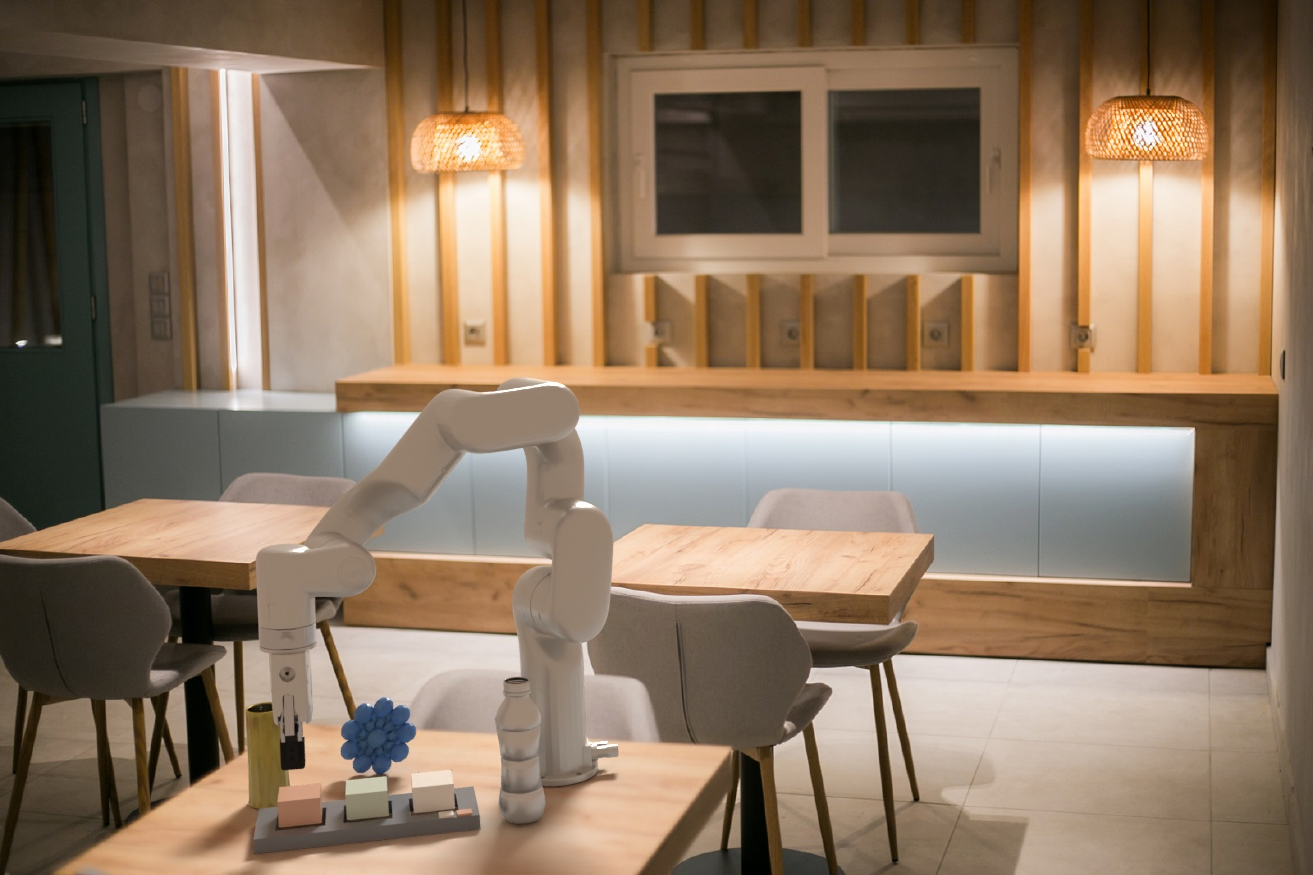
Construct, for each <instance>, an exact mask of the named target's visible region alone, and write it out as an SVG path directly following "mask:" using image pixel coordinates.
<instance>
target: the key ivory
mask: <svg viewBox="0 0 1313 875" xmlns="http://www.w3.org/2000/svg"><path fill="white" fill-rule="evenodd" d="M410 778H411V793H412V799H413V809H414V812H413V814H418V813H419V814H420V813H428V812H437V811H438V812H440V811H445V810H446V811H449V810H454V809H456V807H455V801H454V788H455V787H454V786H455V785H454V784H455V783H454V777H453V773H452V769H445V770H436V771H427V772H426V771H424V772H416V773H410Z"/></svg>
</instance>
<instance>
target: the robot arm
mask: <svg viewBox="0 0 1313 875" xmlns="http://www.w3.org/2000/svg"><path fill="white" fill-rule="evenodd" d="M580 417H581V407H580V403H579V400H578V398H577V396H576V395H575V393H574V392H573V390H571V388H569V387H568V386H566V385H564V384H562V383H560V382H556V381H551V380H543V379H540V378H539V379H538V378H533V377H532V378H531V377H523V376H522V377H514V378H513V377H512V378H509V379H507V380H505V381H503V382H502V383H501V384H500V385H499V386H498V387H497V389H496V391H483V392H482V391H480V392H479V391H475V390H474V391H472V390H469V389H467V390H466V389H460V388H449V389H445V390H442V391H441V392H439V393H438V394H436V395H435V396H434V397H433V398H432V399H431V400H430V401H429V402H428V403H427V404H426V406H425V407H424V408H423V410H421V412H420V413H419V414H418V416H417V417H416V418H415V420H413V423H412V424H410V426H409V427H408V428H407V430H406V431H405V432H404V434H403V435H402V436H401V438H400V439H399V440H398V441H397V443H396V444H395V445H394V446H393V447H392V449H391V450H390V451H389V453H388V454H387V455H386V456H385V457H384V459H383V460H382V461H380V464H378V466H377V467H376V468H375V469H373V470H371V472H369V473H368V474H366V475H365V476H364V477H363V478H362V479H361V480H360V481H358V482H357V483H356V484H354V486H352V487H351V488H349V490H347V491H345V493H344V494H343V495H342V496H340V498H338V500H336V502H335V503H334V504H333V505H332V506H330V508H329V509H328V510H327V511H326V513H325V514H324V515H323V517H322V518H321V519H320V520H319V522H318V523H317V524H316V525H315V527H314V528H313V529H312V530H311V532H310V533H309V535H308V536H307V537H306V539H305V541H304V543H303V544H299V543H278V544H271V545H268V546H265V547H262V548H261V549H260V550H259V551H258V552H257V554H256V556H255V575H256V576H255V577H256V595H257V596H256V599H257V601H256V602H257V620H258V621H257V622H258V643H259V644H258V646H259V647H258V648H259V651H261V652H262V653H267V654H268V663H269V664H268V665H269V667H268V668H269V682H270V683H269V684H270V699H271V702H272V709H273V718H274V723H275V724H276V725H278V726H279V723H280V729H281V738H280V760H281V769H282V770H288V771H291V770H292V771H295V770H303V769H304V768H306V744H305V742H306V741H305V739H306V738H305V736H304V735H303V732H304V731H303V730H304V729H303V728H304V727H303V723H304V722H305V723H306V724H307V725H308V724H310V722H311V721H312V719H313V712H314V711H313V710H314V702H313V699H314V698H313V685H312V684H313V683H312V680H313V679H312V664H311V661H312V660H311V652H310V650H312V649H314V648H316V647H317V646H318V644H317V642H318V641H317V623H316V622H317V619H316V618H317V617H316V598H317V597H319V598H320V597H321V598H322V597H323V598H324V597H326V598H331V597H332V598H348V597H354V596H357V595H359V594H362V593H363V592H365V591H367V589H369V587H370V586H371V585H372V584H373V582H374V581H375V578H376V575H377V564H376V561H375V558H374V556H373V554H372V553H371V552H370V551H369V549H367V548H366V547H365V545H366V543H368V541H369V540H370V538H372V537H373V535H374V534H375V533H376V532H378V530H380V528H382V527H383V526H384V525H386V524H388V523H389V522H390V521H392V520H394V519H395V518H397V517H399V516H402V515H404V514H406V513H407V514H408V513H410V512H412V511H414V510H415V511H416V510H417V509H420V508H421V507H423V506H425V505H426V504H427V503H428V502H430V500H431V499H432V498H434V495H435V494H436V493H437V491H438V490H439V489H440V487H441V486H442V484H443V483H444V482H445V481H446V480H447V478H448V477H449V475H451V473H452V472H453V471H454V469H455V468H456V467H457V465H458V464H459V462H461V460H462V459H463V458H464V456H465V455H466V454H467V453H469V454H474V455H475V454H478V455H484V454H494V453H499V452H509V451H514V450H519V449H522V450H523V452H524V456H525V461H526V492H525V511H524V524H523V529H524V530H523V534H524V540H525V542H526V545H527V546H528V548H529V549H530V550H532V551H533V552H534V553H536V554H537V555H539V556H541V557H544V558H546V559H547V560H551V565H547V564H546V565H536V566H533V567H531V568H529V569H527V570H526V571H524V572H523V573H521V575H520V576H519V578H518V579H517V580H516V583H515V585H514V587H513V590H512V594H511V595H512V596H511V598H512V599H511V607H512V614H513V620H514V624H515V625H514V626H515V629H516V630H515V631H516V634H517V642H518V643H517V644H518V651H519V663H520V666H519V667H520V677H526V678H528V679H529V681H530V689H531V693H530V694H529V697H530V698H531V699H532V701H533V702H534V703H535V704H536V706H537V707H538V709H539V712H540V715H541V727H540V738H539V766H540V774H541V782H542V786H543V787H563V786H568V785H574V784H579V783H582V782H584V781H586V780H588V779H589V780H590V778H593V776H595V775H596V774H597V772H598V770H599V763H598V760H599V759H602V758H604V759H605V758H606V759H607V758H608V759H609V758H610V759H611V758H618V757H619V747H618V743H616V744H615V743H614V744H608V741H606V740H605V741H599V742H592V741H590V740H589V738H588V735H587V716H586V690H585V689H586V687H585V686H586V685H585V660H584V649H583V643H587V642H589V641H591V640H593V639H594V638H596V637H597V636H598V635H599V634H600V633H601V631H602V630H603V628H604V625H606V622H607V619H608V615H609V611H610V603H611V591H612V579H613V578H612V576H613V562H614V561H613V559H614V534H613V530H612V527H611V524H610V521H609V519H608V517H607V515H605V513H604V512H603V511H602V510H601V509H600V508H598V507H597V506H595V505H593V504H591V503H589V502H586V501H585V457H584V449H583V445H582V441H581V439H580V436H579V434H578V432H577V429H576V427H577V425H578V423H579V420H580Z"/></svg>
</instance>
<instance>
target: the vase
mask: <svg viewBox="0 0 1313 875" xmlns="http://www.w3.org/2000/svg"><path fill="white" fill-rule="evenodd" d="M245 729H246V743H247V744H246V746H247V763H248V765H247V767H248V770H247V772H248V774H247V776H248V805H249V806H250V808H252V809H257V810H259V809H261V808H270V807H278V805H277V801H278V794H279V787H286V786H291V783H290V773H289V771H290V770H282V769H281V760H280V738H281V729H280V723H279V726H278V725H276V724H275V723H274V718H273V709H272V701H263V702H258V703H253V704H250V705H248V706H247V707H245Z"/></svg>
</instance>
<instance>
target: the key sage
mask: <svg viewBox="0 0 1313 875" xmlns="http://www.w3.org/2000/svg"><path fill="white" fill-rule="evenodd" d="M388 795H389V794H388V778H387V776H377V777H369V778H368V777H367V778H366V777H365V778H357V779H346V780H345V800H346V810H347V819H346V820H347V821H353V820H354V821H355V820H361V819H371V818H381V817H389V816H390V814H389V810H388Z"/></svg>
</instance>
